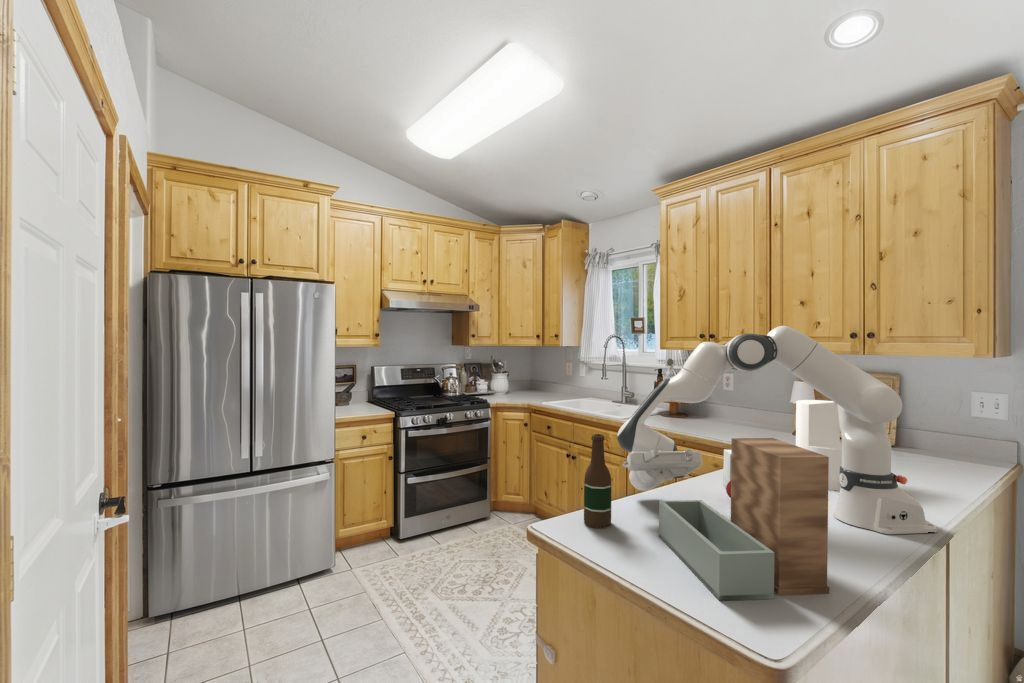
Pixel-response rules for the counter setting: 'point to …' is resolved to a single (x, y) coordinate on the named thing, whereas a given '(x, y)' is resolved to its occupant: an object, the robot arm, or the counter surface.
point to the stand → (784, 509)
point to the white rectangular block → (821, 434)
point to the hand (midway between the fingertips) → (673, 452)
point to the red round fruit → (728, 489)
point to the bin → (717, 551)
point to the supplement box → (727, 467)
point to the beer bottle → (597, 487)
